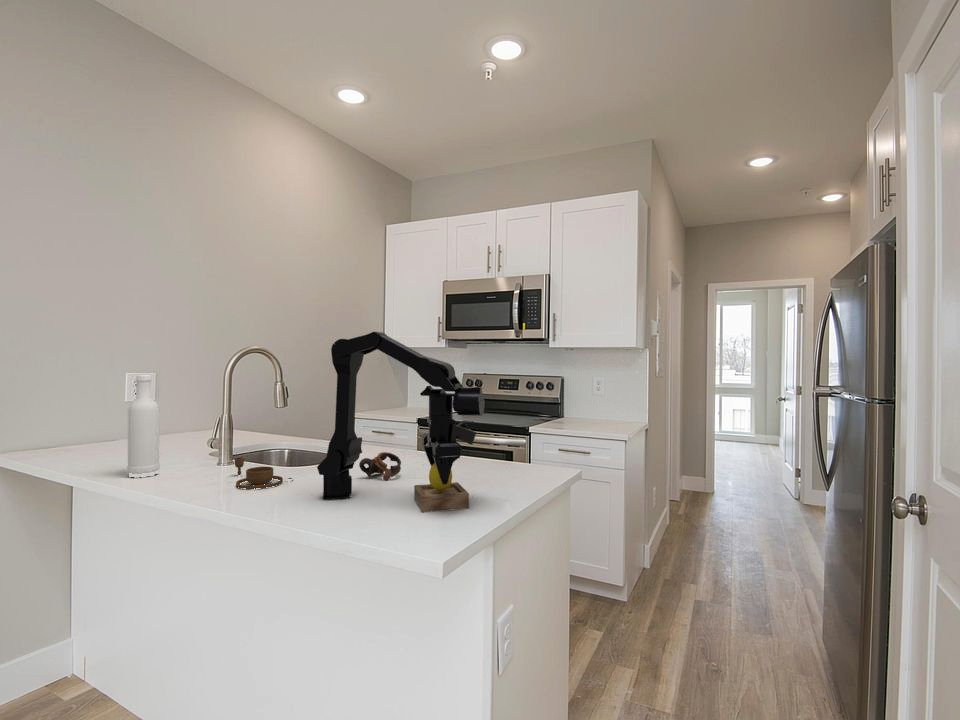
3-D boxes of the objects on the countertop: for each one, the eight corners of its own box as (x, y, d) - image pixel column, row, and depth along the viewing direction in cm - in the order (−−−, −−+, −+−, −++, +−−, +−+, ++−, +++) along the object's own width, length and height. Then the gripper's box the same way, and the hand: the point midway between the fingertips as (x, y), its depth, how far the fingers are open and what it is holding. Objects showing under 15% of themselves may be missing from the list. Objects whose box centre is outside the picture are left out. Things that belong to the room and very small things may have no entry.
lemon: (429, 490, 123) (429, 457, 123) (451, 489, 124) (451, 457, 124) (428, 496, 118) (428, 462, 118) (452, 495, 118) (452, 461, 118)
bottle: (122, 479, 145) (122, 375, 145) (134, 473, 153) (134, 374, 153) (153, 477, 147) (153, 375, 147) (163, 471, 155) (163, 374, 155)
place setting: (219, 494, 131) (219, 472, 131) (232, 477, 150) (232, 457, 150) (291, 489, 136) (291, 467, 136) (295, 473, 155) (295, 454, 155)
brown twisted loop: (391, 473, 155) (400, 452, 153) (396, 494, 147) (406, 471, 145) (353, 467, 150) (362, 445, 147) (356, 488, 142) (366, 464, 139)
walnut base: (422, 512, 114) (422, 496, 114) (414, 499, 124) (414, 485, 124) (468, 508, 117) (468, 493, 117) (457, 495, 128) (457, 482, 128)
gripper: (484, 418, 114) (484, 486, 114) (463, 410, 132) (463, 469, 132) (435, 419, 111) (435, 490, 111) (421, 411, 129) (421, 472, 129)
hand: (440, 479), depth 121 cm, fingers open, 9 cm apart
